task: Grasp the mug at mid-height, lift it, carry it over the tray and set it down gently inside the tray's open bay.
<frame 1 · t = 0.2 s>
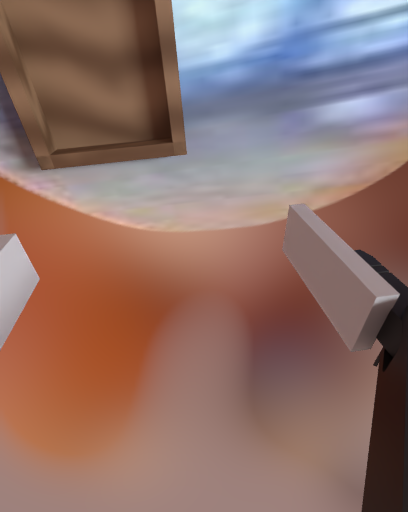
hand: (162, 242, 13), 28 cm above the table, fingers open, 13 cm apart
tray: (94, 54, 30), on the table
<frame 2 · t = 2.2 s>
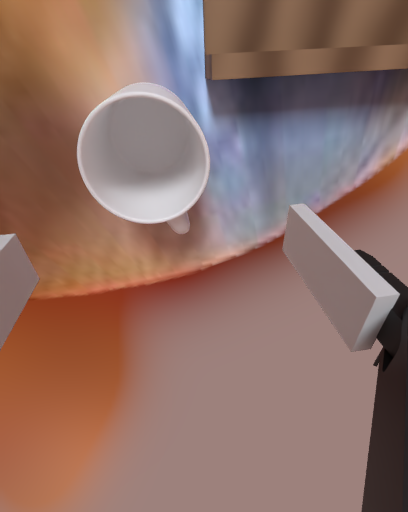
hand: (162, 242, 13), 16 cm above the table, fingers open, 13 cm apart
mug: (157, 152, 27), on the table
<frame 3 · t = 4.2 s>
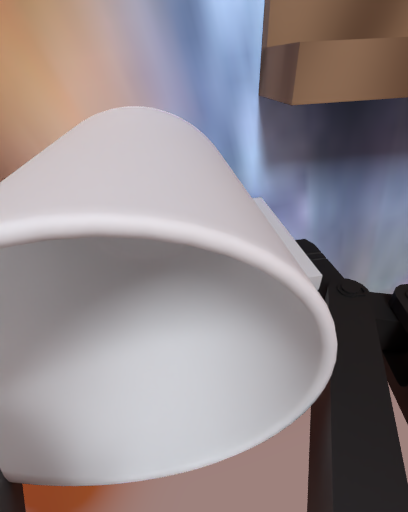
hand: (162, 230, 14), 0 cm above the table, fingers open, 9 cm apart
mug: (161, 225, 15), on the table
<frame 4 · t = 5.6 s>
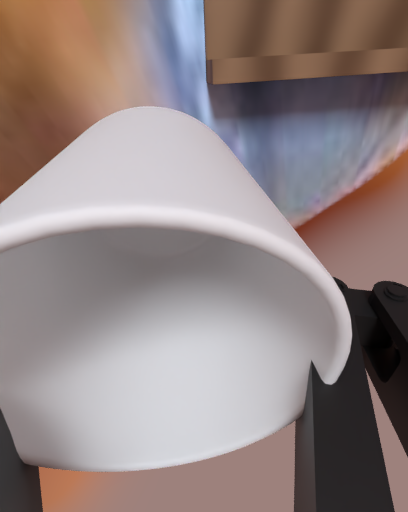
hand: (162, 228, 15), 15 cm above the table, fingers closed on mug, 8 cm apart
mug: (171, 223, 15), point 15 cm above the table, touching gripper
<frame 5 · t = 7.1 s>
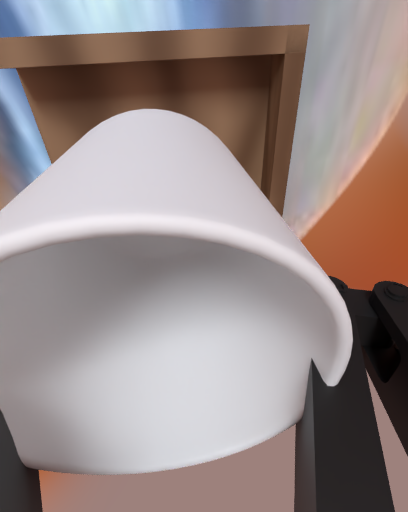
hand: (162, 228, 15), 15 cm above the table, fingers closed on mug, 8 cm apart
tray: (170, 154, 26), on the table
mug: (172, 224, 15), point 14 cm above the table, touching gripper
when the fingers open (3 cm above the table, at t = 9.6 s): mug drops 2 cm, resting on tray.
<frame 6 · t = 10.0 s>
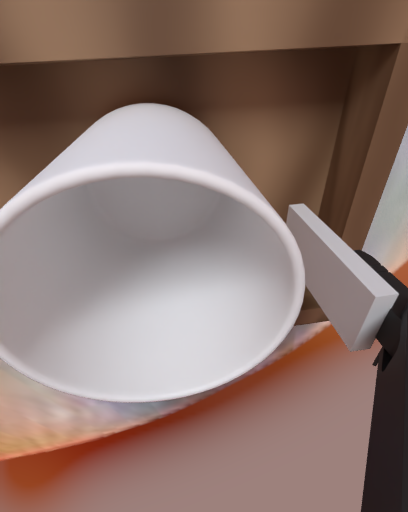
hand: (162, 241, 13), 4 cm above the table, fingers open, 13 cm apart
tray: (177, 204, 17), on the table
mug: (168, 209, 17), resting on tray
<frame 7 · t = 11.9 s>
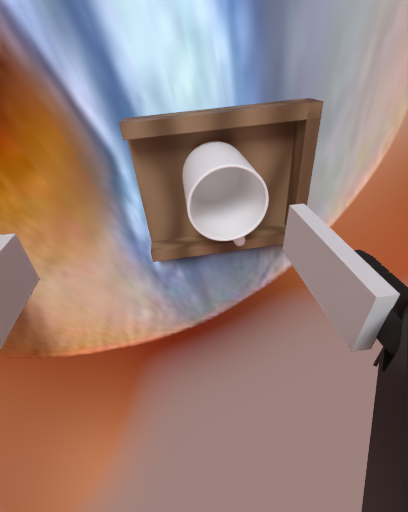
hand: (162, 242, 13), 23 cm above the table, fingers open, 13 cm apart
tray: (221, 183, 37), on the table
mug: (217, 185, 36), resting on tray
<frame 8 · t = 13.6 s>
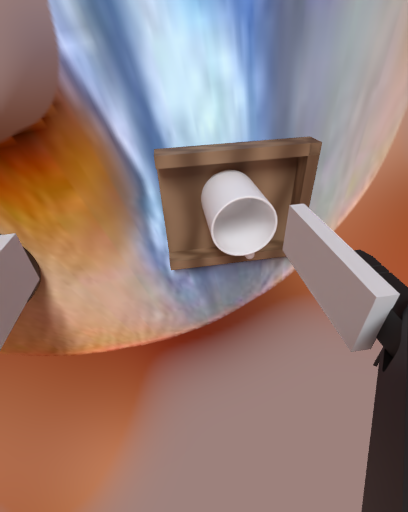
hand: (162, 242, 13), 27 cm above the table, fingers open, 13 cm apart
tray: (232, 203, 42), on the table
mug: (229, 205, 42), resting on tray
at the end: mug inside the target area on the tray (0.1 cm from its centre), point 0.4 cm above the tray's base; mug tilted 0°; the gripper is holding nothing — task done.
